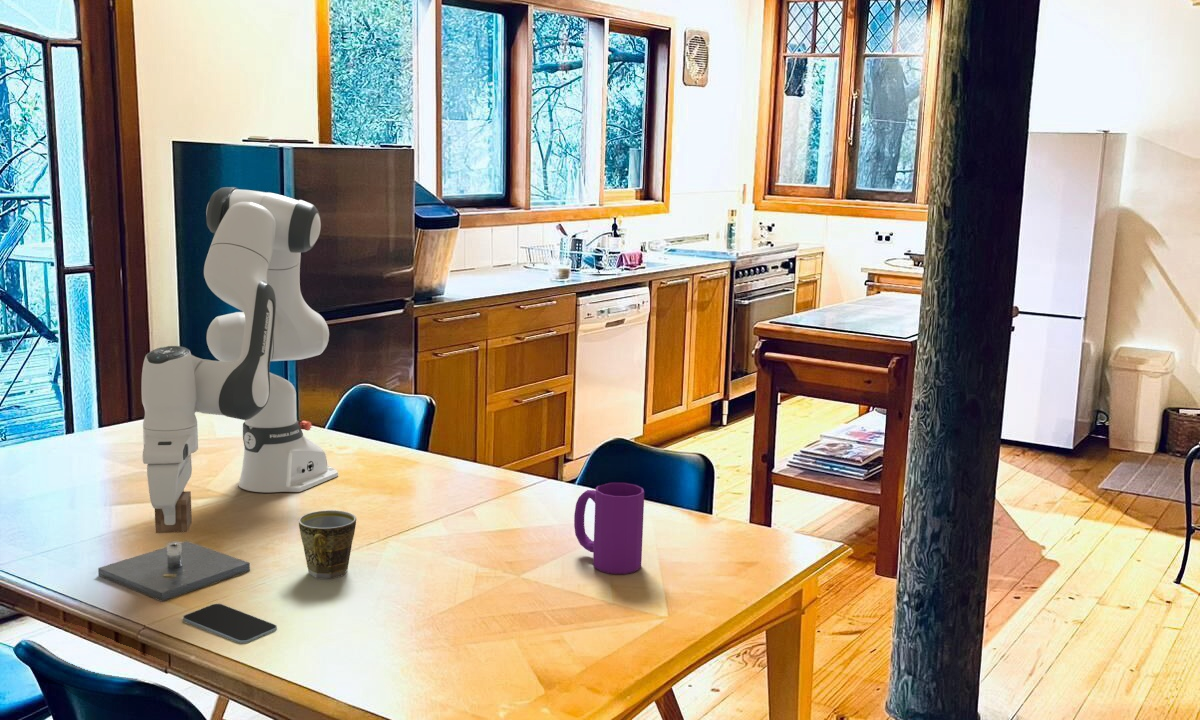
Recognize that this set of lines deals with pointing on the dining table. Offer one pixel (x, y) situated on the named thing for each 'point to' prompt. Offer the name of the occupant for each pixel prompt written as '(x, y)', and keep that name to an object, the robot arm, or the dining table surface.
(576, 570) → the dining table surface
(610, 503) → the mug
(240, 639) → the smartphone
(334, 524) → the ceramic cup
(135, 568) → the plate
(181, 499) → the taped cardboard carton
